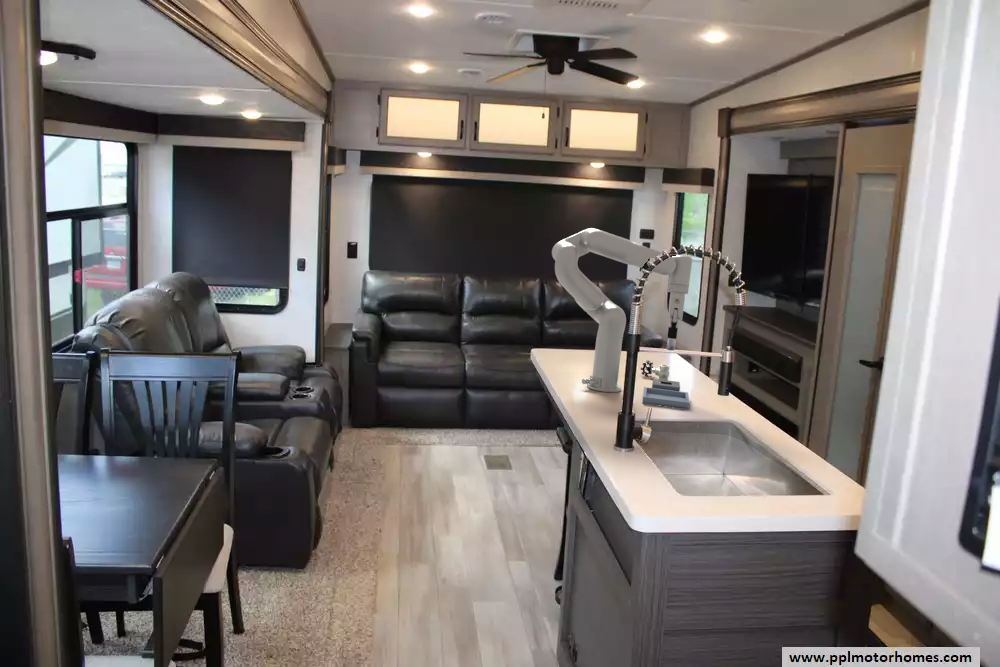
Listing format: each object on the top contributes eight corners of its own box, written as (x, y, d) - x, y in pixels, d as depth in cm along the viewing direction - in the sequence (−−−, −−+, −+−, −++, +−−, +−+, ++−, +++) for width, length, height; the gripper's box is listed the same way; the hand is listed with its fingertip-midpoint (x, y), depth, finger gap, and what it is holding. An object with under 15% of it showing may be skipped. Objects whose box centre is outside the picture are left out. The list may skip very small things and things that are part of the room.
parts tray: (688, 409, 292) (689, 402, 292) (642, 403, 295) (643, 396, 294) (687, 399, 308) (688, 392, 307) (643, 393, 310) (644, 386, 310)
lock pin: (670, 350, 311) (674, 322, 309) (664, 348, 313) (667, 321, 311) (676, 350, 312) (680, 322, 311) (670, 348, 315) (673, 320, 313)
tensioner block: (678, 396, 310) (680, 387, 309) (651, 393, 312) (652, 384, 311) (678, 390, 320) (679, 381, 319) (651, 387, 321) (653, 378, 321)
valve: (672, 382, 334) (651, 375, 344) (674, 366, 333) (653, 359, 343) (660, 383, 330) (639, 376, 340) (662, 367, 329) (641, 360, 339)
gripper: (689, 292, 300) (682, 342, 303) (687, 287, 316) (681, 335, 319) (667, 289, 301) (661, 339, 305) (667, 285, 317) (661, 333, 321)
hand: (671, 337), depth 312 cm, fingers closed on lock pin, 3 cm apart
